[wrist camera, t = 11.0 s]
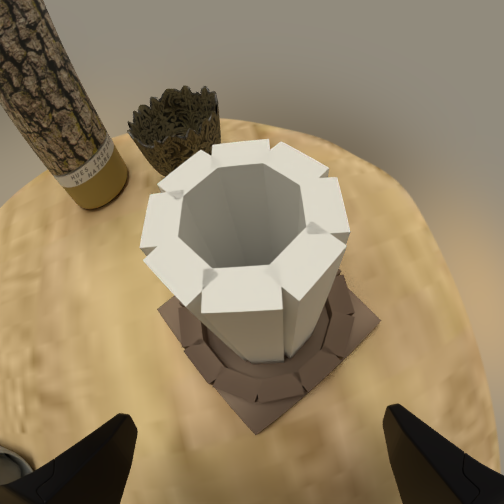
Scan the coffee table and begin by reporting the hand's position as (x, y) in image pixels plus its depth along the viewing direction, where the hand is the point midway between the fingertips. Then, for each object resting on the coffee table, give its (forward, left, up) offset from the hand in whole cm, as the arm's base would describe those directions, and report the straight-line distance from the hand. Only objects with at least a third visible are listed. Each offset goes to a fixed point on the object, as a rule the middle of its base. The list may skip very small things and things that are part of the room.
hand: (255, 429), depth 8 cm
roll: (+5, -4, -9) cm, 11 cm away
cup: (+20, -8, -10) cm, 24 cm away
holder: (+5, -4, -10) cm, 12 cm away
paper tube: (+27, 0, -10) cm, 29 cm away
